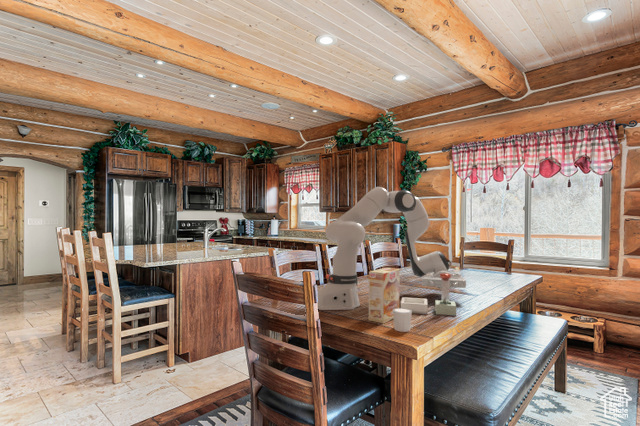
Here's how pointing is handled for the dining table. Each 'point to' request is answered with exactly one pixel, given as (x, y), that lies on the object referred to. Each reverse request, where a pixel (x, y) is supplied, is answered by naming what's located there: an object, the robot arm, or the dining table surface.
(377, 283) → the coffeecake box
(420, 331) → the dining table surface
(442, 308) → the socket block
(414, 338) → the dining table surface
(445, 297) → the pin
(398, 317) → the shot glass
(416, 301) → the tray
